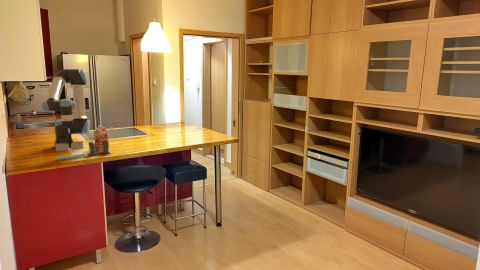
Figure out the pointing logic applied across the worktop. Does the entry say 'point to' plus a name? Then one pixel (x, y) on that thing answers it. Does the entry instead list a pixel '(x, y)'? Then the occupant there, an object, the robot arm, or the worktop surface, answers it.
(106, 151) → the standards
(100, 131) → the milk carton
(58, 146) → the rail
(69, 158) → the mat
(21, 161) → the worktop surface
